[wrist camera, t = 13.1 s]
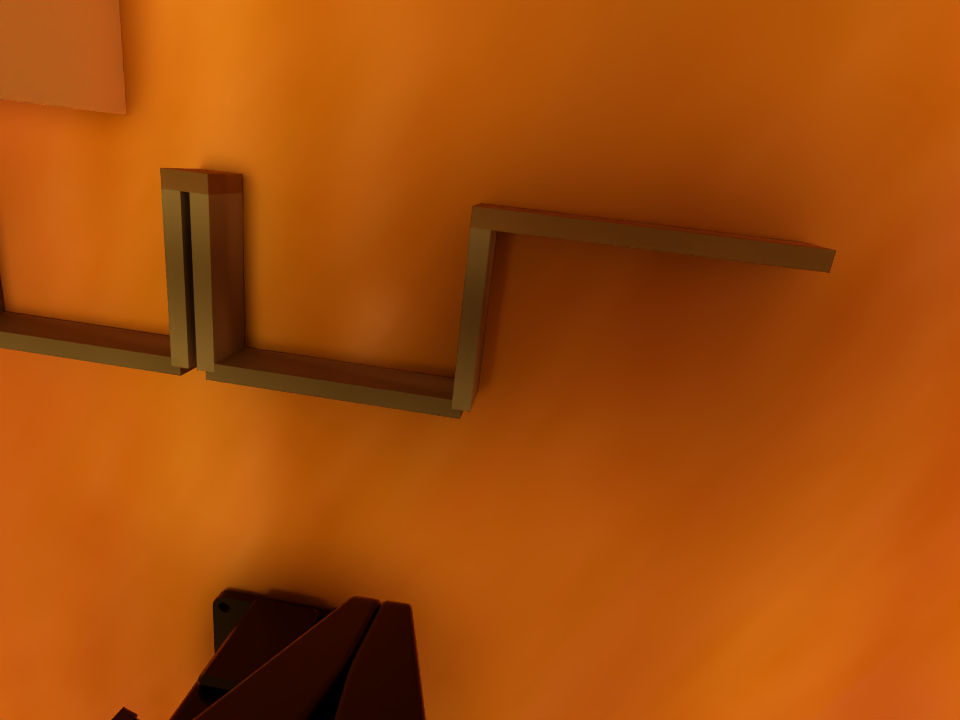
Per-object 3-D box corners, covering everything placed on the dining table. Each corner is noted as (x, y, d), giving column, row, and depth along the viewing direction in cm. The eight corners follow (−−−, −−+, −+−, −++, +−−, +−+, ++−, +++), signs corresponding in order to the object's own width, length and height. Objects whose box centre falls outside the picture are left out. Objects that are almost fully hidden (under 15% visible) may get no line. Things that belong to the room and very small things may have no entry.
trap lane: (750, 439, 20) (783, 483, 17) (-115, 308, 23) (-212, 327, 20) (900, -94, 15) (981, -157, 12) (-217, -175, 18) (-365, -242, 15)
